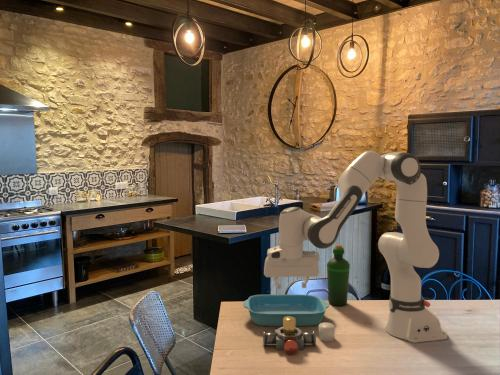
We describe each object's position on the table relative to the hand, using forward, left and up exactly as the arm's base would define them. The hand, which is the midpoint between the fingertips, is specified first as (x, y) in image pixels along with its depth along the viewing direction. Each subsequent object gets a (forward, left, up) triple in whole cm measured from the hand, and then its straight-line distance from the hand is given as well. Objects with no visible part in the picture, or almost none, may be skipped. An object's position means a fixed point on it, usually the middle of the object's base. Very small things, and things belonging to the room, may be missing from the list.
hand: (291, 287), depth 149 cm
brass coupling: (+1, +2, -17) cm, 17 cm away
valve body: (+1, +3, -21) cm, 22 cm away
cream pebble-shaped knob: (-14, -3, -21) cm, 26 cm away
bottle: (-26, -38, -22) cm, 51 cm away
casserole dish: (0, -22, -22) cm, 31 cm away
